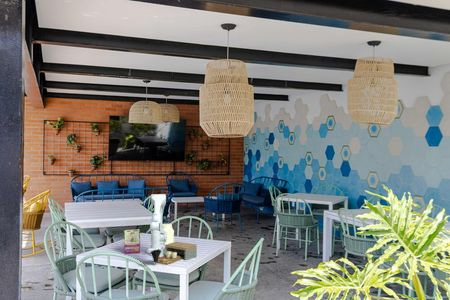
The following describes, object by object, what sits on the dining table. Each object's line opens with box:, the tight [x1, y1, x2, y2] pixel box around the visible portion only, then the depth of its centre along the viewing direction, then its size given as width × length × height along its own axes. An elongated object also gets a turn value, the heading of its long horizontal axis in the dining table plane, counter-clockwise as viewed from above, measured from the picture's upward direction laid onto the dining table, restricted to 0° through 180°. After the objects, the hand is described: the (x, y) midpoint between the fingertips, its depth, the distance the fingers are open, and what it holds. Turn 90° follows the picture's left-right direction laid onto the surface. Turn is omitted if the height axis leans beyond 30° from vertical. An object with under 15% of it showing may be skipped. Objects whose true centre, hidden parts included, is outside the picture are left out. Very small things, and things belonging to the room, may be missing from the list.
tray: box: [154, 251, 181, 266], centre depth 277 cm, size 10×14×5 cm
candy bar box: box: [123, 228, 141, 255], centre depth 301 cm, size 11×5×16 cm, turn 101°
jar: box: [162, 223, 175, 245], centre depth 331 cm, size 12×10×15 cm
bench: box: [165, 241, 198, 261], centre depth 289 cm, size 18×12×8 cm, turn 58°
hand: (155, 261), depth 267 cm, fingers closed
